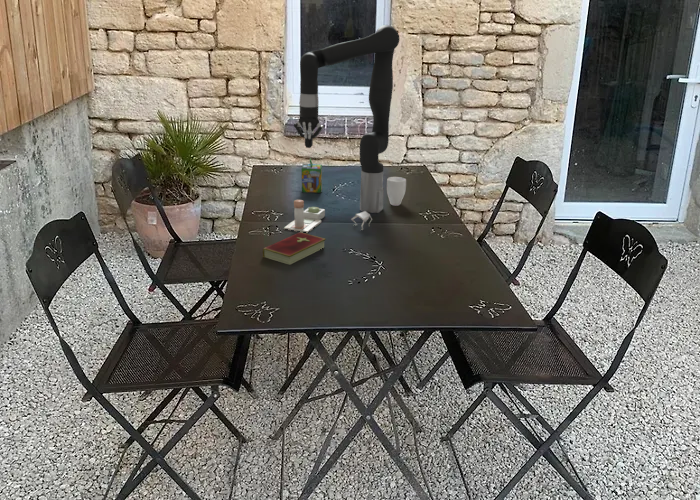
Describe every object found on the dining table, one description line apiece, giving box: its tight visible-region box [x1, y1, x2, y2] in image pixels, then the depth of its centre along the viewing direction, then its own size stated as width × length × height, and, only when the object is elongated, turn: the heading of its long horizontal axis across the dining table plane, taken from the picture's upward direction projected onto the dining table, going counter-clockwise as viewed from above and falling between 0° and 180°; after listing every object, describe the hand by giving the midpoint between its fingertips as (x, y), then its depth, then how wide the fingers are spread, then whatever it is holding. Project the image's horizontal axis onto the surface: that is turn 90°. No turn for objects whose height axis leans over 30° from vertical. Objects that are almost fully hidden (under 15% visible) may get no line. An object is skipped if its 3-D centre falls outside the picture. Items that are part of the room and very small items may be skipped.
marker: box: [293, 199, 305, 228], centre depth 259 cm, size 4×4×10 cm
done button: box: [308, 206, 320, 213], centre depth 274 cm, size 4×4×3 cm
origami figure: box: [350, 211, 373, 231], centre depth 265 cm, size 12×8×5 cm
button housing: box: [304, 207, 326, 221], centre depth 274 cm, size 7×7×3 cm
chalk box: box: [301, 157, 323, 194], centre depth 308 cm, size 9×9×15 cm
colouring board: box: [283, 218, 322, 234], centre depth 265 cm, size 10×14×1 cm
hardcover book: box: [262, 232, 327, 266], centre depth 238 cm, size 12×21×4 cm, turn 147°
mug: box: [386, 176, 407, 207], centre depth 295 cm, size 12×8×11 cm
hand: (308, 147), depth 273 cm, fingers closed
